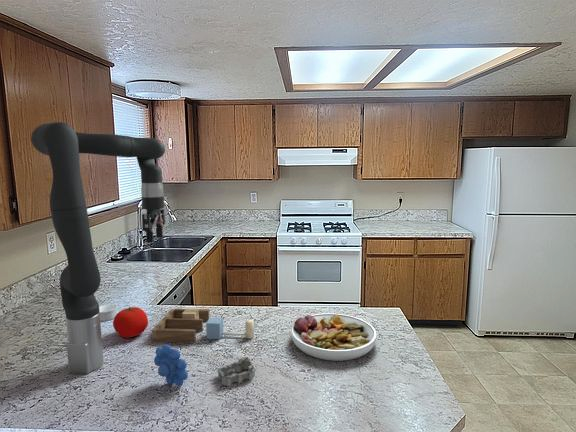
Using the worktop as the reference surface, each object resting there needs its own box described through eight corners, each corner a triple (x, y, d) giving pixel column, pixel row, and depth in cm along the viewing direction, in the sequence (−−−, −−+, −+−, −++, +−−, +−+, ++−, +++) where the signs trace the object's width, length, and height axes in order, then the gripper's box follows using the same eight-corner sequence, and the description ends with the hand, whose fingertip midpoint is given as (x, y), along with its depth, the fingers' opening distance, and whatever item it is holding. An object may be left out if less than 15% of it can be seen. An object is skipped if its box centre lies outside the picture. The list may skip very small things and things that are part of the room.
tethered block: (252, 340, 137) (252, 324, 136) (206, 338, 138) (206, 323, 137) (254, 333, 142) (254, 318, 141) (210, 332, 143) (209, 317, 142)
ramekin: (89, 321, 155) (89, 310, 154) (105, 312, 163) (104, 303, 162) (108, 323, 152) (107, 312, 152) (122, 314, 161) (122, 304, 160)
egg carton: (249, 367, 120) (249, 355, 119) (257, 380, 113) (257, 367, 112) (216, 375, 116) (215, 362, 115) (222, 388, 109) (222, 375, 108)
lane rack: (194, 343, 135) (194, 331, 135) (152, 341, 136) (151, 330, 136) (209, 319, 155) (209, 309, 154) (172, 318, 156) (172, 308, 155)
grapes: (145, 387, 109) (142, 348, 107) (161, 375, 115) (159, 338, 113) (177, 397, 104) (175, 356, 103) (193, 384, 110) (191, 345, 109)
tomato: (134, 325, 150) (132, 300, 148) (155, 332, 144) (153, 306, 142) (108, 337, 140) (106, 310, 139) (129, 345, 134) (127, 317, 132)
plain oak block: (195, 328, 147) (194, 313, 147) (182, 328, 148) (182, 313, 147) (199, 322, 152) (198, 308, 152) (186, 322, 153) (186, 308, 152)
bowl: (377, 330, 146) (378, 310, 145) (373, 371, 117) (374, 347, 116) (302, 321, 154) (302, 303, 153) (281, 358, 126) (280, 335, 124)
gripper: (154, 197, 128) (157, 244, 131) (170, 193, 142) (172, 236, 145) (133, 197, 129) (136, 243, 131) (150, 193, 143) (153, 235, 145)
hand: (155, 239), depth 138 cm, fingers open, 8 cm apart
